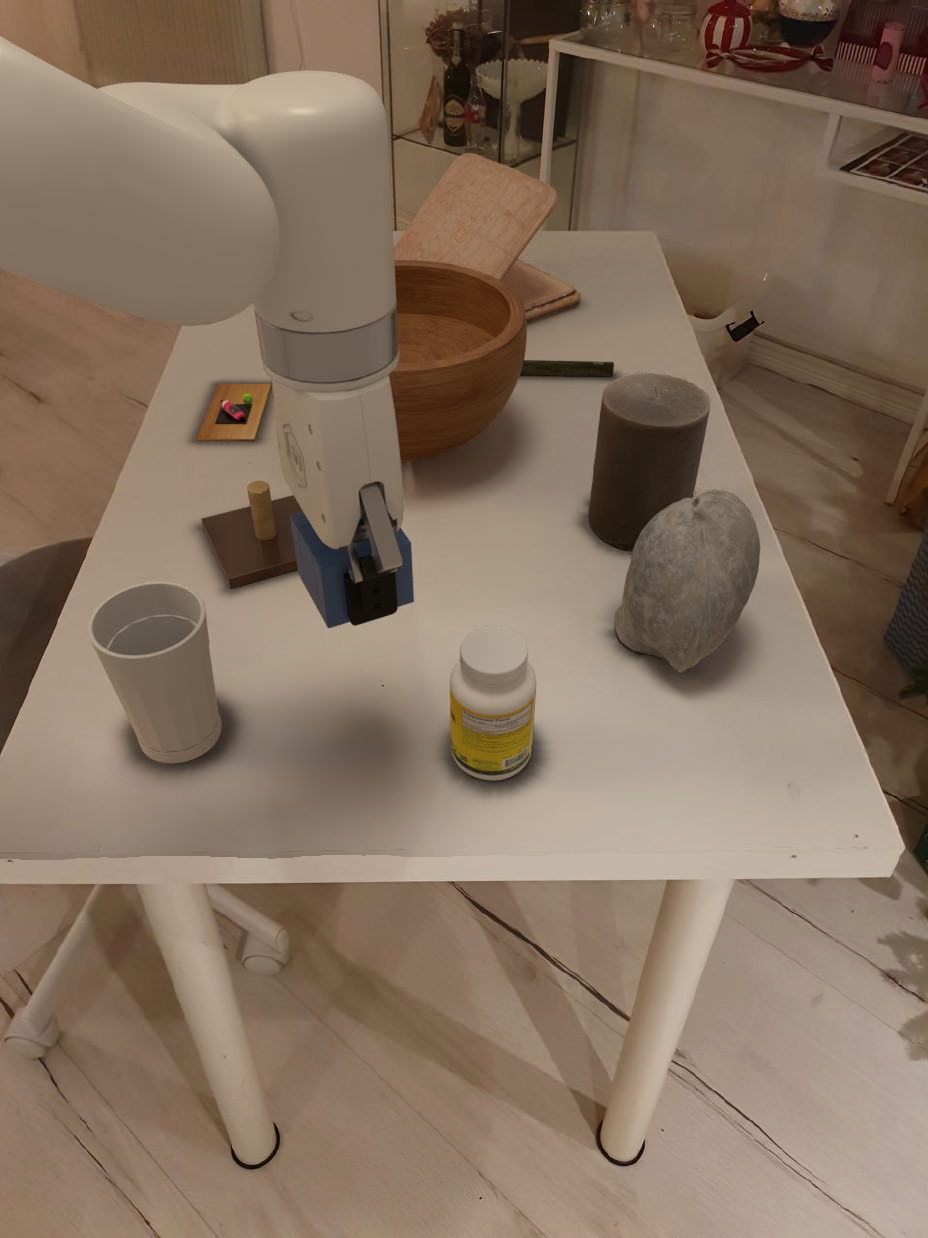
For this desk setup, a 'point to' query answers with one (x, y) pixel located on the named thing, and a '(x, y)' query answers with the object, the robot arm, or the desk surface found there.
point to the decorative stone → (689, 578)
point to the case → (488, 229)
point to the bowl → (452, 354)
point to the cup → (160, 667)
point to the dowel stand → (254, 537)
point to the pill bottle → (492, 704)
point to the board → (234, 412)
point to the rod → (567, 368)
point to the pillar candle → (645, 452)
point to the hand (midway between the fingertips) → (354, 584)
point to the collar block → (340, 570)
